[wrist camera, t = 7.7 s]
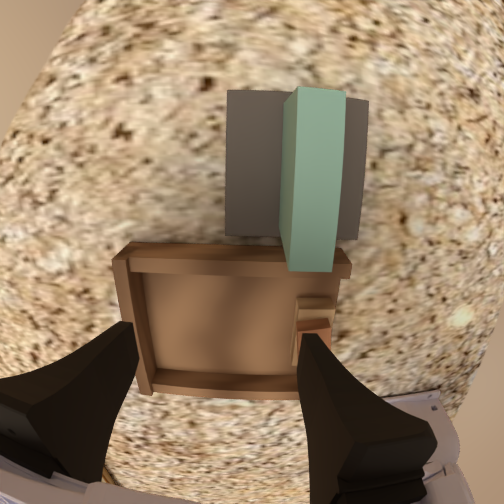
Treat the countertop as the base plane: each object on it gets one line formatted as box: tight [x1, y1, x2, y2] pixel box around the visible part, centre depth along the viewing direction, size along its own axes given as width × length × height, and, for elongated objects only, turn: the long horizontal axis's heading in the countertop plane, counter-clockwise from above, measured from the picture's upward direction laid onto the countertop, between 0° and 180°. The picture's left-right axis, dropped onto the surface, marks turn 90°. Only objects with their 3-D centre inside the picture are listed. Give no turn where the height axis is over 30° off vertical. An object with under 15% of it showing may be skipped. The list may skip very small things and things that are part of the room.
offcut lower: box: [290, 298, 335, 366], centre depth 22 cm, size 2×5×2 cm, turn 178°
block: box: [279, 86, 346, 272], centre depth 16 cm, size 2×8×7 cm, turn 179°
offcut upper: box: [296, 318, 331, 357], centre depth 21 cm, size 2×4×1 cm, turn 7°
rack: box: [112, 242, 352, 400], centre depth 22 cm, size 15×12×3 cm
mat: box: [225, 90, 369, 240], centre depth 19 cm, size 9×10×1 cm
